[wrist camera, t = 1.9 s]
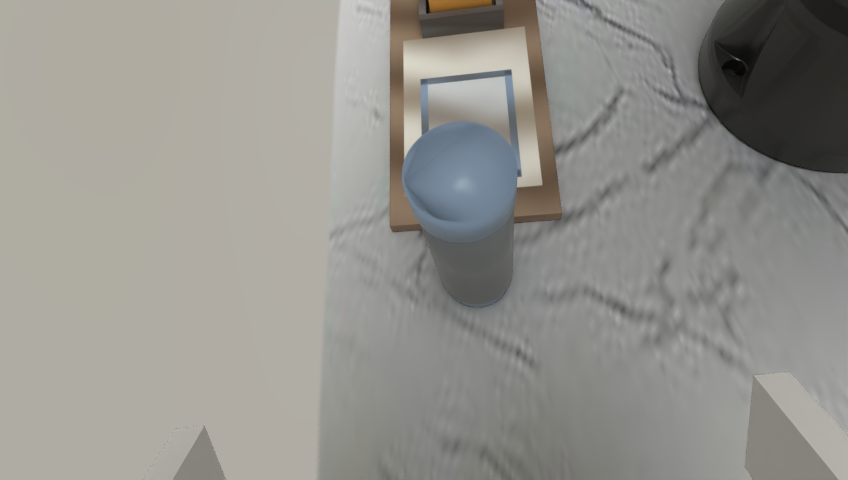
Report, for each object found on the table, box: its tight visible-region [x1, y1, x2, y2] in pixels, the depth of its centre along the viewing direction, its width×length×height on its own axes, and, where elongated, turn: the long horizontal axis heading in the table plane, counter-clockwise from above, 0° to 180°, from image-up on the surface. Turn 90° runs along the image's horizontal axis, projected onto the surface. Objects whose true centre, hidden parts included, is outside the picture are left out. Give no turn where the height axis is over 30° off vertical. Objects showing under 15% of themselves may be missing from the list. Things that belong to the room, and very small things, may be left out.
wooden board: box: [390, 0, 562, 232], centre depth 38 cm, size 22×11×3 cm, turn 1°
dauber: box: [402, 121, 517, 307], centre depth 28 cm, size 5×5×14 cm
